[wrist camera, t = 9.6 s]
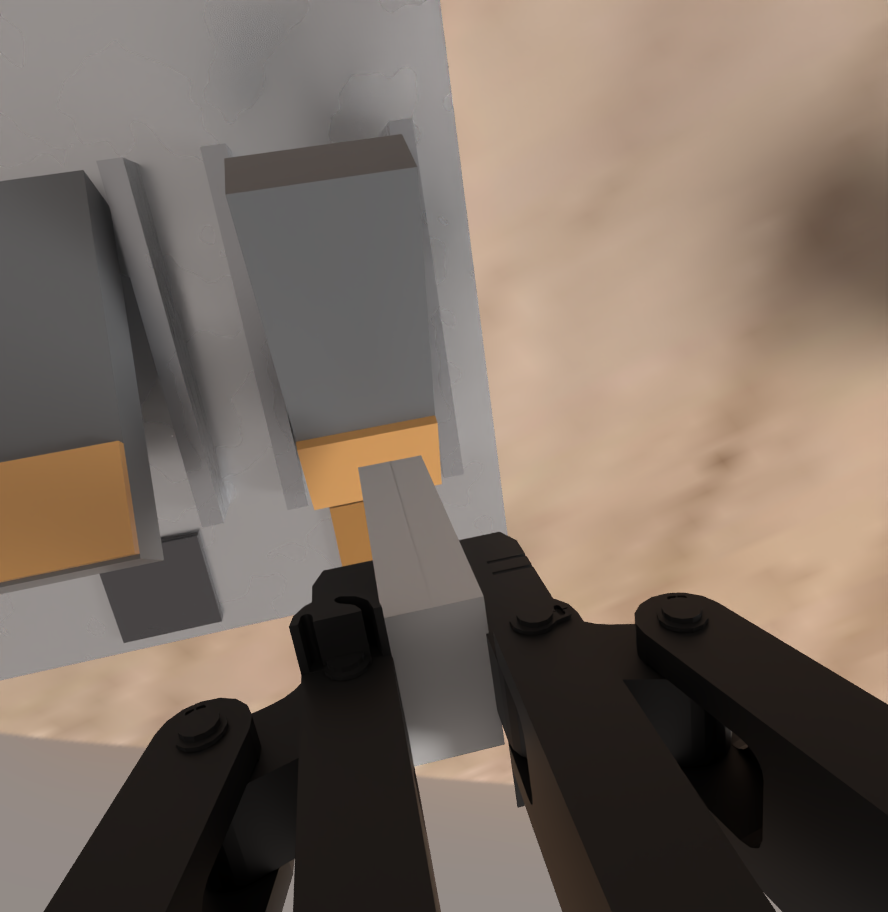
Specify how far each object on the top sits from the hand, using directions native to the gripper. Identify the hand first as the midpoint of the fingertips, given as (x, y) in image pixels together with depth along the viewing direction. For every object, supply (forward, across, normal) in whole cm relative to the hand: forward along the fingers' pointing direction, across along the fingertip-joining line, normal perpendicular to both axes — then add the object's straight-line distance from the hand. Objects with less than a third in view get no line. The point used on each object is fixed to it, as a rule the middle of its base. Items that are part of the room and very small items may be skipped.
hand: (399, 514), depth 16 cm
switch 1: (+2, -7, +4) cm, 9 cm away
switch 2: (+2, 0, +4) cm, 5 cm away
